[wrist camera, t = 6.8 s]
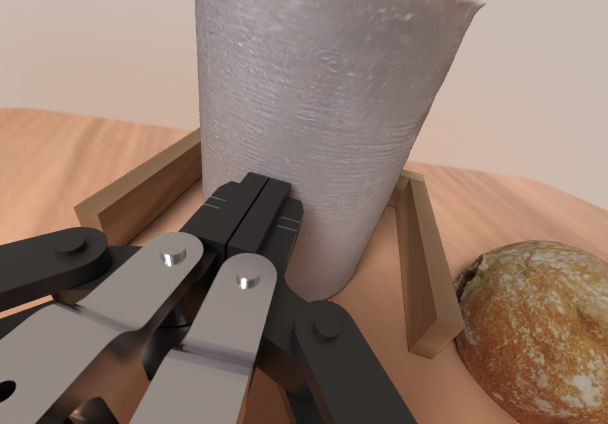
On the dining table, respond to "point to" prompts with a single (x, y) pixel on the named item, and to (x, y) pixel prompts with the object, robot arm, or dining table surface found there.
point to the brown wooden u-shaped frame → (405, 198)
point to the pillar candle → (322, 109)
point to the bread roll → (538, 331)
